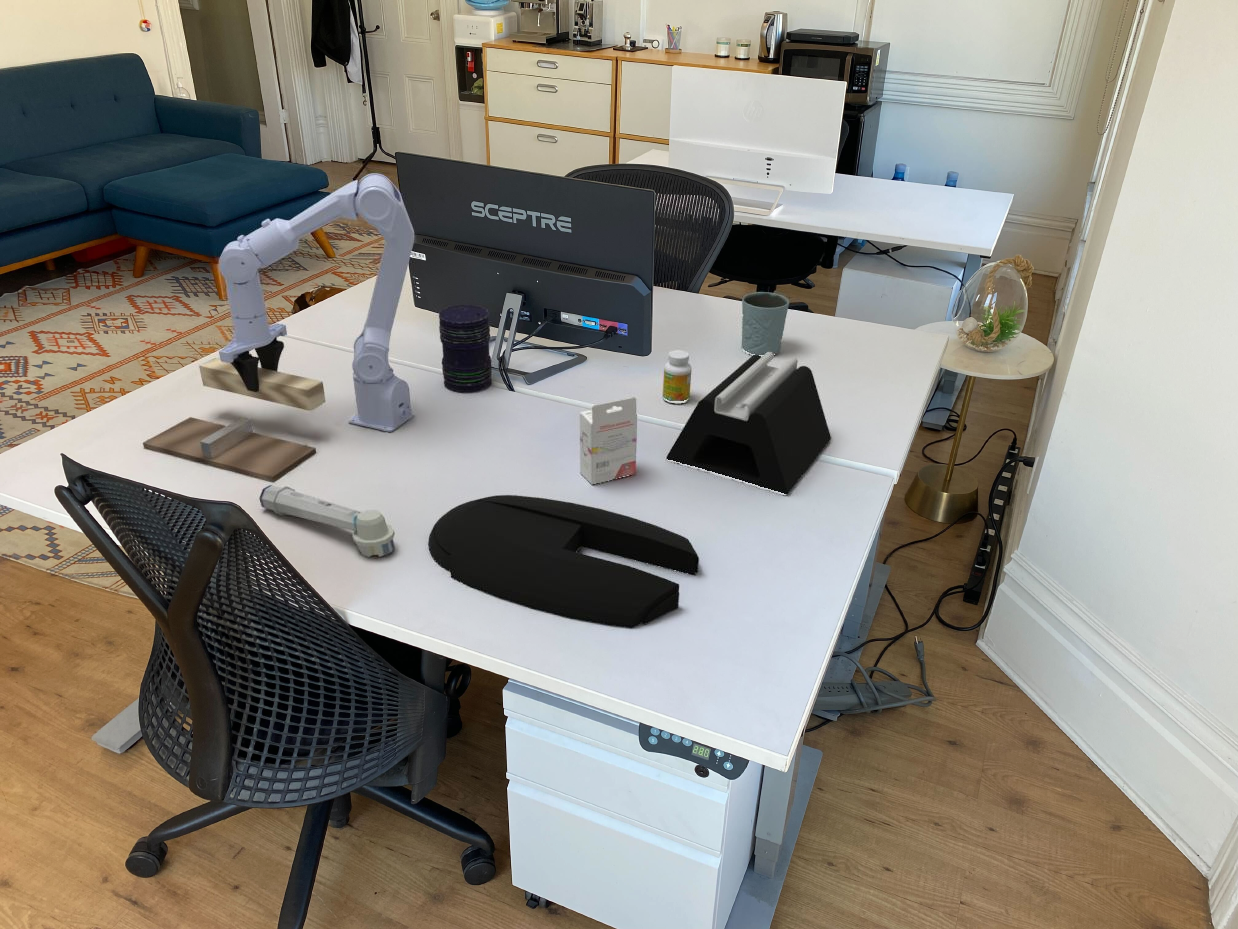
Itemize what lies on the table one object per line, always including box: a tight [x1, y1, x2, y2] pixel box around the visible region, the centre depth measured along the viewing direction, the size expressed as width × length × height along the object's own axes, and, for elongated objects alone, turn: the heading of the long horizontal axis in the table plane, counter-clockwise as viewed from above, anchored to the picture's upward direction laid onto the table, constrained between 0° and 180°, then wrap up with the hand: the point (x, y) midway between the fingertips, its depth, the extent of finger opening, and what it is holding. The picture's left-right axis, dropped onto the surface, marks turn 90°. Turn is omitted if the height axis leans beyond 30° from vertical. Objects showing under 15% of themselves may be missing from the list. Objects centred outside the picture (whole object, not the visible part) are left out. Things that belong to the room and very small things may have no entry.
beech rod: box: [198, 357, 327, 412], centre depth 164 cm, size 24×4×4 cm, turn 68°
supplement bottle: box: [662, 349, 692, 401], centre depth 181 cm, size 5×5×10 cm
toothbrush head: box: [258, 484, 395, 558], centre depth 139 cm, size 5×7×25 cm
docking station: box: [427, 494, 700, 629], centre depth 134 cm, size 25×40×5 cm, turn 68°
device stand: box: [665, 352, 832, 495], centre depth 162 cm, size 22×22×15 cm
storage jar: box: [438, 304, 493, 394], centre depth 183 cm, size 10×10×15 cm
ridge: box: [200, 416, 255, 459], centre depth 159 cm, size 2×10×3 cm, turn 158°
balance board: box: [142, 416, 317, 483], centre depth 160 cm, size 28×11×1 cm, turn 68°
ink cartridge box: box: [579, 396, 638, 485], centre depth 153 cm, size 9×5×15 cm, turn 117°
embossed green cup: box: [741, 291, 790, 356], centre depth 203 cm, size 10×10×12 cm
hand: (262, 385), depth 164 cm, fingers closed on beech rod, 4 cm apart
